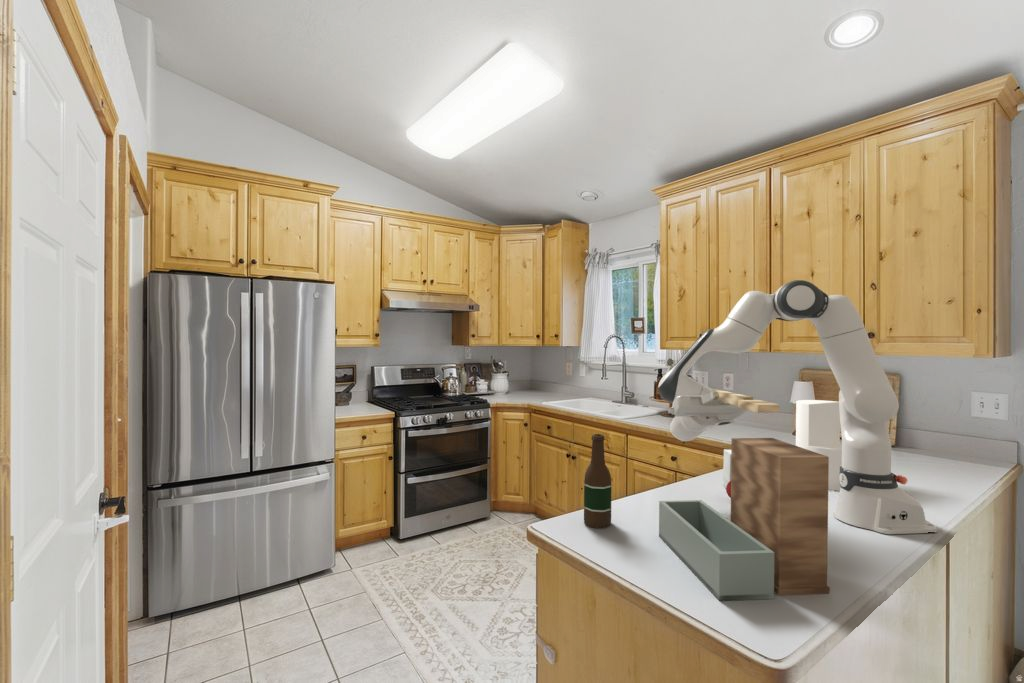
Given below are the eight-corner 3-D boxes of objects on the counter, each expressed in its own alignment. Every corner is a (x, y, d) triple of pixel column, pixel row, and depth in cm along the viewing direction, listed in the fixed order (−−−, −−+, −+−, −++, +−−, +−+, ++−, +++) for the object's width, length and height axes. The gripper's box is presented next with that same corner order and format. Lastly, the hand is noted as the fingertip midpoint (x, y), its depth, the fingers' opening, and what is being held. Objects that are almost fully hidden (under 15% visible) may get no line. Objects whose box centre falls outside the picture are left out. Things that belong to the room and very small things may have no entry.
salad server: (705, 398, 130) (705, 389, 130) (723, 398, 131) (723, 389, 131) (757, 412, 106) (757, 401, 106) (779, 412, 107) (779, 401, 107)
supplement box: (729, 492, 157) (729, 453, 157) (722, 485, 165) (723, 448, 165) (753, 493, 156) (753, 454, 156) (745, 486, 164) (746, 449, 164)
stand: (728, 552, 113) (729, 437, 113) (771, 551, 114) (772, 437, 113) (778, 595, 94) (780, 457, 94) (829, 593, 95) (831, 457, 95)
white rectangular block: (784, 479, 173) (785, 401, 172) (815, 473, 180) (816, 398, 180) (833, 493, 157) (835, 407, 157) (865, 487, 164) (866, 405, 164)
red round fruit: (749, 506, 145) (749, 479, 145) (728, 504, 146) (728, 478, 146) (743, 499, 150) (744, 474, 150) (724, 498, 152) (724, 472, 151)
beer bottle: (605, 531, 125) (606, 439, 125) (578, 525, 129) (578, 435, 129) (616, 521, 132) (616, 434, 131) (589, 516, 136) (590, 431, 135)
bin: (658, 536, 122) (659, 500, 122) (700, 535, 123) (701, 500, 123) (719, 600, 92) (719, 554, 92) (773, 598, 93) (774, 552, 93)
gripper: (663, 403, 139) (681, 383, 127) (731, 402, 141) (756, 383, 129) (667, 423, 136) (686, 405, 124) (737, 423, 137) (762, 405, 125)
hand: (722, 394), depth 126 cm, fingers closed on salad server, 2 cm apart
